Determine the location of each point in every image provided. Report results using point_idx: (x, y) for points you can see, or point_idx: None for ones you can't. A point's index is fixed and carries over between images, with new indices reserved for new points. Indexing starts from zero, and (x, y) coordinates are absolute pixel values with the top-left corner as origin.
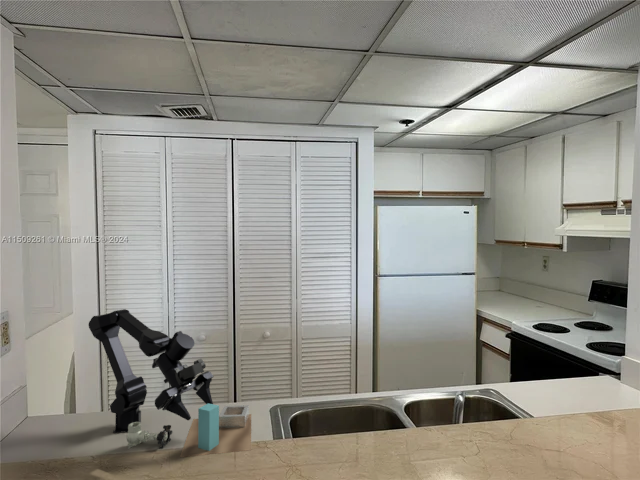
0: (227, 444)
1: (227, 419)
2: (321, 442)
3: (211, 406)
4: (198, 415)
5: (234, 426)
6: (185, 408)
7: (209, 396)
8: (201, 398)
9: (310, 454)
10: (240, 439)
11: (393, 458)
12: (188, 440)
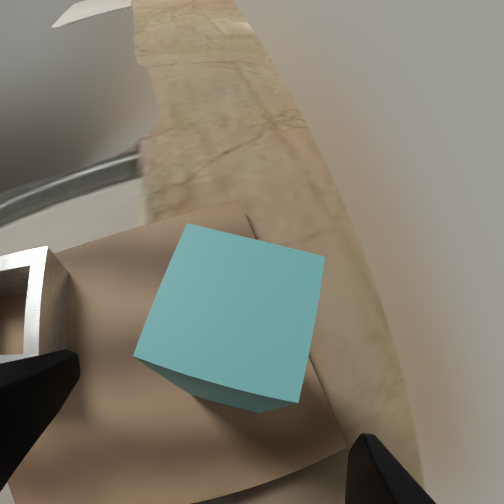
0: None
1: (47, 332)
2: (166, 96)
3: (214, 284)
4: (284, 406)
5: (64, 311)
6: (401, 499)
7: (8, 376)
8: (10, 470)
9: (219, 102)
10: (165, 256)
11: (220, 42)
12: (200, 489)
